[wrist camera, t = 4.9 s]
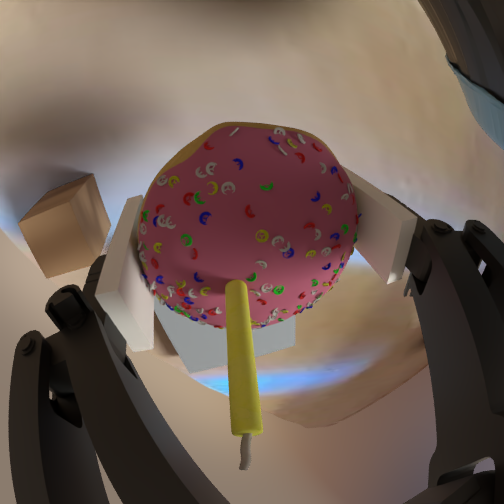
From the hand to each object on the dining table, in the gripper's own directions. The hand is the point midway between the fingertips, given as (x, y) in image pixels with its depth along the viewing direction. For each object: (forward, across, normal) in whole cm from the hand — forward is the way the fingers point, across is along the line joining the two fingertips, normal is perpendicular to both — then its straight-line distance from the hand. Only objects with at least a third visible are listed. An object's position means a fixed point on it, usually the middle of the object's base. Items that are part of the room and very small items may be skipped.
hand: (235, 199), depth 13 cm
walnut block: (+10, -13, -2) cm, 16 cm away
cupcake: (+1, 0, 0) cm, 1 cm away
